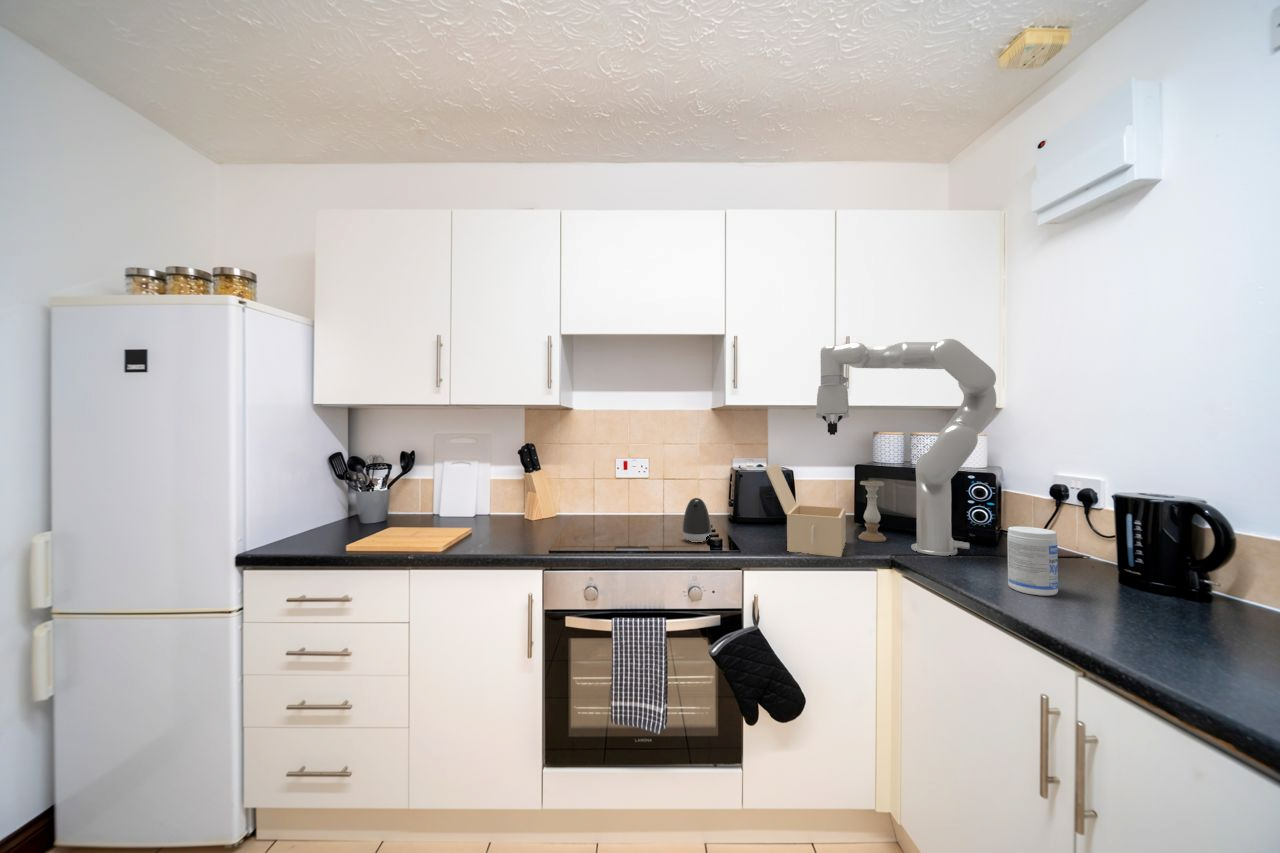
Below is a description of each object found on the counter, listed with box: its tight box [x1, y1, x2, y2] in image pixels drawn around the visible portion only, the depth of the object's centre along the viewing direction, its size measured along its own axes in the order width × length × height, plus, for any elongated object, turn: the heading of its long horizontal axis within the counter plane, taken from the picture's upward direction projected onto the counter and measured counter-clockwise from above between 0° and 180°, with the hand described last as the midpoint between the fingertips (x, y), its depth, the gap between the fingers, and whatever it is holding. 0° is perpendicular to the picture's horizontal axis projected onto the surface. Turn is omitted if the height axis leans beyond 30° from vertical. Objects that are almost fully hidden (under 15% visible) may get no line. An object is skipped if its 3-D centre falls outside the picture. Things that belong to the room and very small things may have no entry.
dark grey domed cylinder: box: [681, 497, 712, 542], centre depth 172 cm, size 10×10×15 cm
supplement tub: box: [1007, 526, 1059, 597], centre depth 119 cm, size 10×10×15 cm
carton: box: [786, 504, 847, 558], centre depth 161 cm, size 16×24×12 cm, turn 154°
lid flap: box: [764, 463, 798, 515], centre depth 168 cm, size 16×20×1 cm
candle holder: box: [858, 480, 887, 543], centre depth 174 cm, size 9×9×20 cm
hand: (832, 434), depth 170 cm, fingers closed
